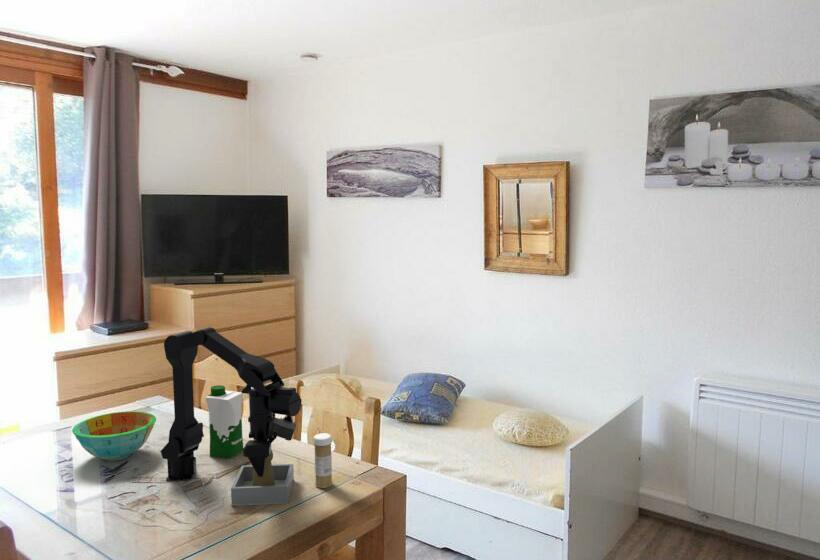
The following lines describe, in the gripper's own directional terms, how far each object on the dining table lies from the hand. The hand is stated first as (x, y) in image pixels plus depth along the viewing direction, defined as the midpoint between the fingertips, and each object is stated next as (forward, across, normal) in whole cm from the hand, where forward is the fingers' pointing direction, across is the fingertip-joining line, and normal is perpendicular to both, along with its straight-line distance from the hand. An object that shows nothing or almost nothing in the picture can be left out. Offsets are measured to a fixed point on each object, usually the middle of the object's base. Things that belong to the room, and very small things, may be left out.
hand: (263, 470), depth 162 cm
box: (+6, 0, 0) cm, 6 cm away
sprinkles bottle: (+6, +3, -15) cm, 17 cm away
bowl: (+6, +28, +47) cm, 55 cm away
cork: (+6, 0, 0) cm, 6 cm away
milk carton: (+6, +27, +15) cm, 31 cm away
